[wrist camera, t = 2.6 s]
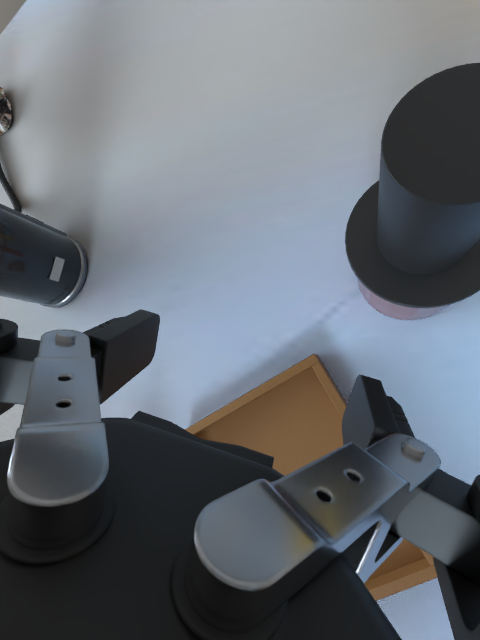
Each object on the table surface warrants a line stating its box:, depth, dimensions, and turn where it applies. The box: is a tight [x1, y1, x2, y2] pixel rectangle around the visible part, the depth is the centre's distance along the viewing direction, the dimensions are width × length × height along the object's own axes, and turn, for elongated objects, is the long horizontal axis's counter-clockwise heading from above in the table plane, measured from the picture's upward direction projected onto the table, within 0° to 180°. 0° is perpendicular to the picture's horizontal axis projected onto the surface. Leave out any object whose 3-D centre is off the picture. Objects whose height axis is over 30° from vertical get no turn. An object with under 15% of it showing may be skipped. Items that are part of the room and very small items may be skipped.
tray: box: [185, 354, 437, 601], centre depth 31 cm, size 19×16×2 cm
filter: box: [345, 63, 480, 308], centre depth 18 cm, size 10×10×12 cm
